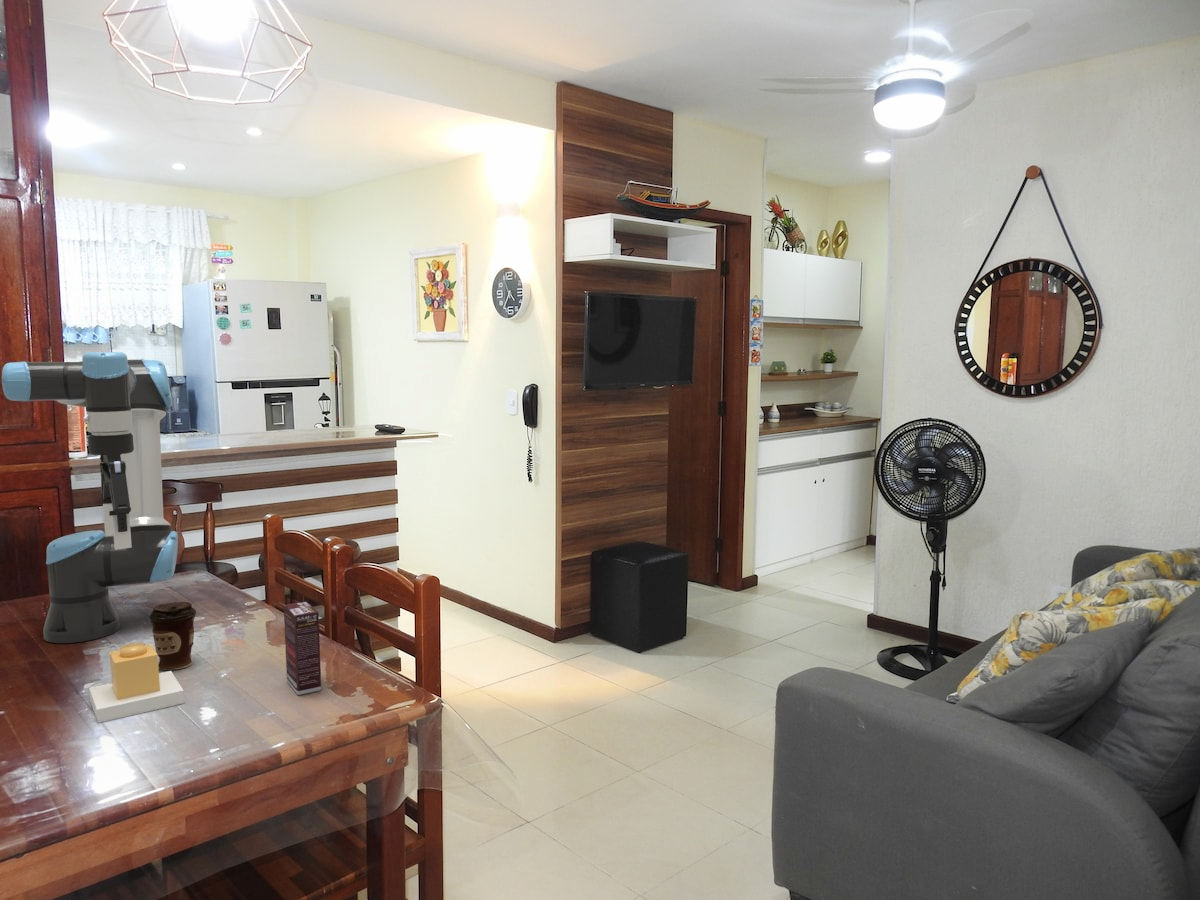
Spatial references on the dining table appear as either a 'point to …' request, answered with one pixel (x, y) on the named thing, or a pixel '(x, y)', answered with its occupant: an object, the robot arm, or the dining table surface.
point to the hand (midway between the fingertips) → (118, 541)
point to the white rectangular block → (135, 699)
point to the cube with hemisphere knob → (134, 670)
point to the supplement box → (302, 647)
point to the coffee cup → (173, 634)
